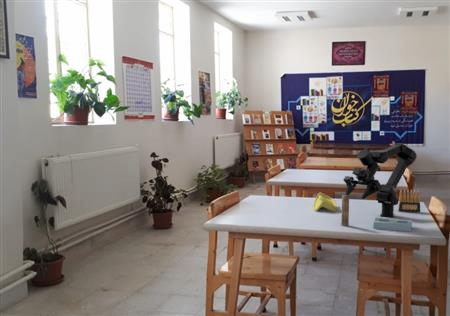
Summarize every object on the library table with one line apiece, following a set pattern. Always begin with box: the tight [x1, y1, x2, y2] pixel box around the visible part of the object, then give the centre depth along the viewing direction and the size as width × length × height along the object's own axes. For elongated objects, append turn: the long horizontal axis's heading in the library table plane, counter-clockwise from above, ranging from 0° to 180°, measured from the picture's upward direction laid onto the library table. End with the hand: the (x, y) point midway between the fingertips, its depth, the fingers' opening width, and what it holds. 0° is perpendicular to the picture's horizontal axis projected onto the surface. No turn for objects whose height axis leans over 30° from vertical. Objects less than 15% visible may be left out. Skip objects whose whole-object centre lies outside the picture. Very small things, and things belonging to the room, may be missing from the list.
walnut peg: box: [341, 194, 350, 227], centre depth 228 cm, size 3×3×14 cm
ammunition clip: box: [397, 188, 421, 213], centre depth 258 cm, size 11×2×12 cm, turn 79°
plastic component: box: [312, 191, 339, 212], centre depth 269 cm, size 20×7×10 cm
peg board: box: [373, 217, 413, 232], centre depth 223 cm, size 10×16×3 cm, turn 68°
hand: (354, 197), depth 231 cm, fingers open, 9 cm apart
